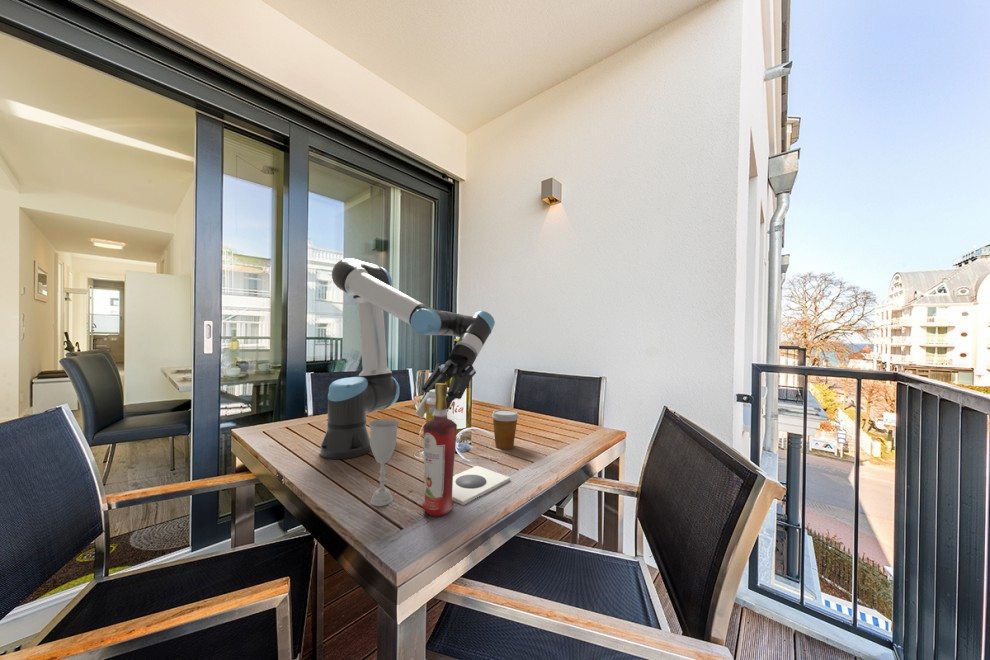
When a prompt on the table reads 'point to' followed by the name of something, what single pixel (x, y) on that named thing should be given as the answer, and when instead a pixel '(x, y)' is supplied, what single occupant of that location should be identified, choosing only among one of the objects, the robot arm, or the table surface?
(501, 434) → the disposable coffee cup
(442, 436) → the liquor
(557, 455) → the table surface
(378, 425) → the chalice
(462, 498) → the cream rectangular slab
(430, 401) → the supplement bottle
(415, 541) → the table surface
